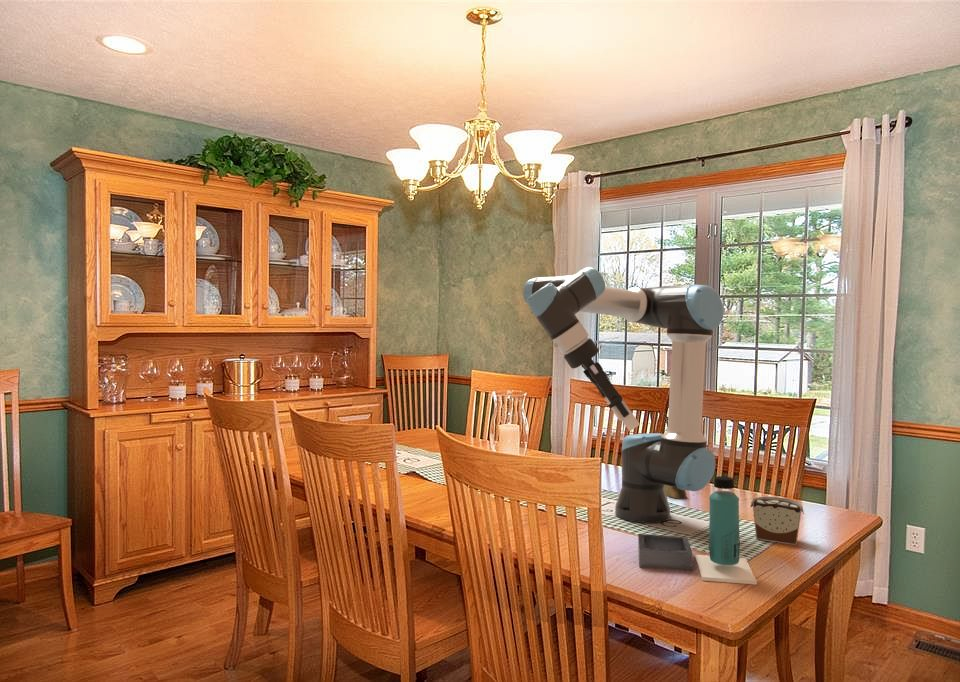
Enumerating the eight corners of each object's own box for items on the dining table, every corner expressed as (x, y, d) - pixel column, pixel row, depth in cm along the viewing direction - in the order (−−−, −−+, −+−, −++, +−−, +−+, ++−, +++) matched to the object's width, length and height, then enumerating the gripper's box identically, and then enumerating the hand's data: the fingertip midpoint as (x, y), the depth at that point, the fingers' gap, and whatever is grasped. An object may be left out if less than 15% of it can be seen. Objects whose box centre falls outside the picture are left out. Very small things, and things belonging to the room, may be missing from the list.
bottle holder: (638, 550, 165) (638, 533, 165) (687, 553, 163) (687, 536, 163) (639, 567, 154) (639, 549, 154) (692, 571, 152) (692, 553, 152)
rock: (643, 484, 222) (653, 487, 212) (658, 462, 223) (669, 464, 213) (670, 504, 222) (681, 508, 212) (685, 482, 223) (697, 485, 213)
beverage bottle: (737, 574, 148) (737, 482, 147) (705, 569, 151) (705, 478, 150) (742, 565, 153) (742, 475, 153) (711, 560, 157) (711, 472, 156)
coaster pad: (695, 557, 160) (695, 554, 160) (745, 561, 158) (745, 557, 158) (702, 580, 146) (702, 576, 146) (756, 584, 144) (756, 580, 144)
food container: (805, 539, 174) (806, 500, 173) (803, 546, 168) (803, 505, 168) (753, 531, 180) (754, 493, 180) (749, 538, 175) (750, 499, 174)
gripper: (558, 352, 169) (607, 422, 169) (566, 359, 144) (624, 442, 144) (584, 334, 169) (633, 405, 169) (596, 339, 144) (654, 422, 144)
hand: (629, 422), depth 157 cm, fingers open, 13 cm apart
